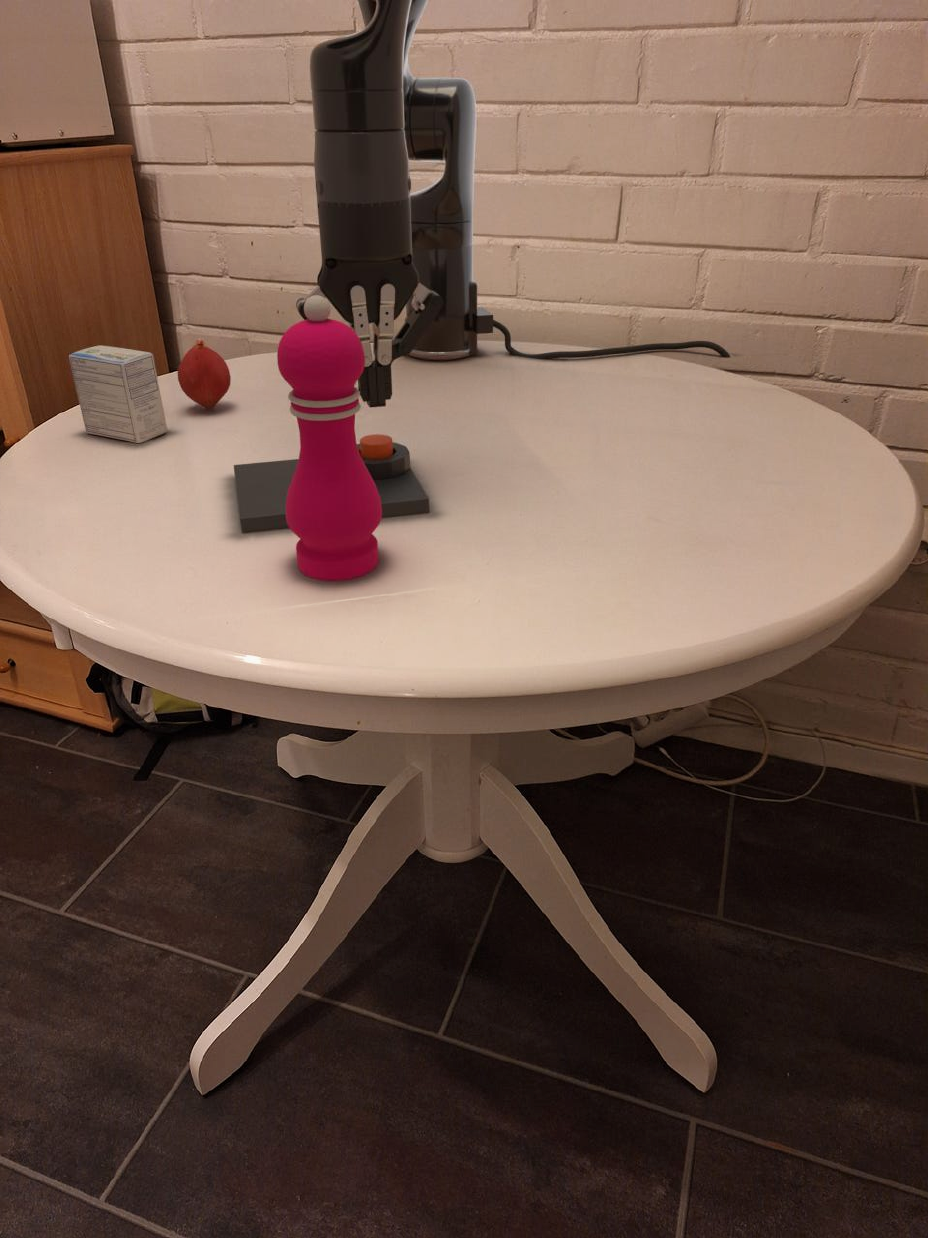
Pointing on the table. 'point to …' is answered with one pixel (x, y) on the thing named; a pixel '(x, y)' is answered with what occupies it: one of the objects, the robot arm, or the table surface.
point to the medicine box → (118, 393)
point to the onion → (204, 375)
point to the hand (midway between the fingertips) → (375, 404)
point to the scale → (270, 481)
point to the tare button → (376, 446)
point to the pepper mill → (328, 449)
